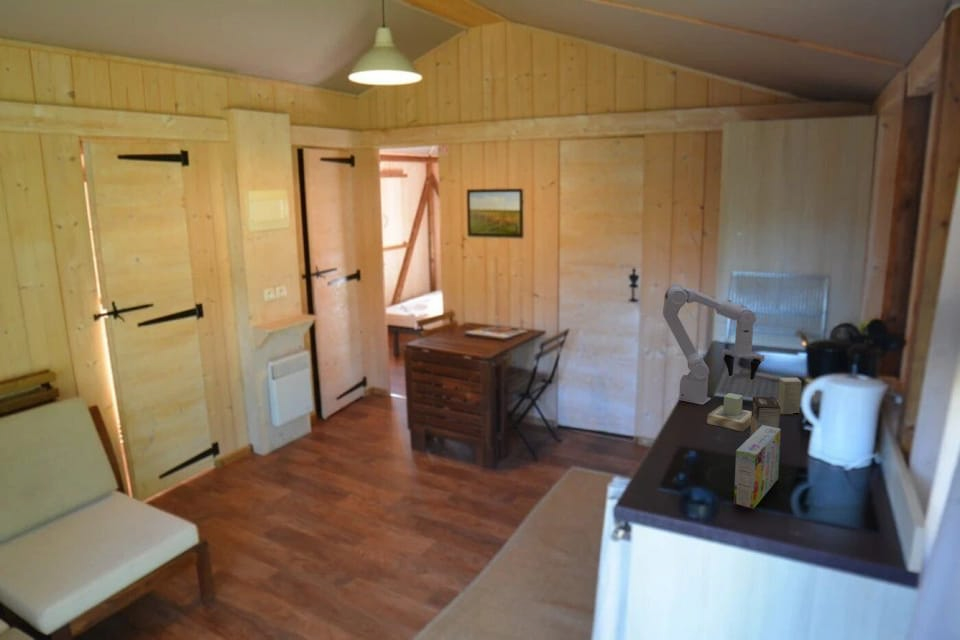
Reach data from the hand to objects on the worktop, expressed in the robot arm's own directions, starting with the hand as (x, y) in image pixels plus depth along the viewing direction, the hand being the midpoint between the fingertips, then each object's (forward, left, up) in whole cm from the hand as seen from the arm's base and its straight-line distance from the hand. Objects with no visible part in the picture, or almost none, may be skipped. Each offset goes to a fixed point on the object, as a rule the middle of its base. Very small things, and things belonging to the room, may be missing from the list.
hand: (741, 377), depth 240 cm
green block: (+5, -22, -6) cm, 23 cm away
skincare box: (+17, -1, -10) cm, 20 cm away
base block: (+5, -22, -9) cm, 24 cm away
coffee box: (+21, -40, -10) cm, 46 cm away
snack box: (+28, -67, -10) cm, 73 cm away
